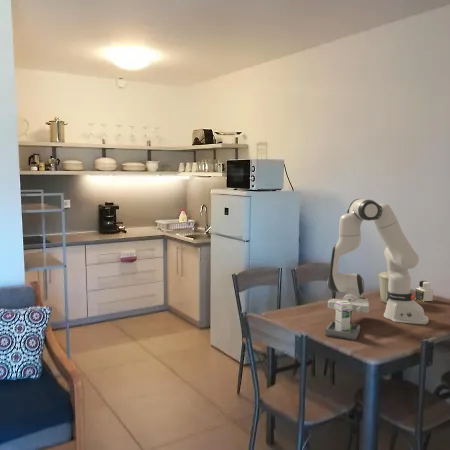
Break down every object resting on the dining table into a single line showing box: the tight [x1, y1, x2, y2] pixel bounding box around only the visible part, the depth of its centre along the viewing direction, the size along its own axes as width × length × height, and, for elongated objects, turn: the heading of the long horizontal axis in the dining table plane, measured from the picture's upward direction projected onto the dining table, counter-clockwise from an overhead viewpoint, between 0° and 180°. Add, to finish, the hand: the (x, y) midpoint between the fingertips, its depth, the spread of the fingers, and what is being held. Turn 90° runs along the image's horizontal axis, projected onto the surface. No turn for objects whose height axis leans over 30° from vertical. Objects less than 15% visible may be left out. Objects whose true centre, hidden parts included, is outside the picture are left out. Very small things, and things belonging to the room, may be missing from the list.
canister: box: [377, 270, 389, 304], centre depth 279 cm, size 18×18×21 cm
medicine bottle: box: [414, 280, 434, 303], centre depth 285 cm, size 7×7×12 cm
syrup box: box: [334, 301, 353, 333], centre depth 223 cm, size 6×6×14 cm
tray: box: [324, 320, 361, 341], centre depth 224 cm, size 14×14×3 cm
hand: (345, 309), depth 227 cm, fingers open, 8 cm apart
